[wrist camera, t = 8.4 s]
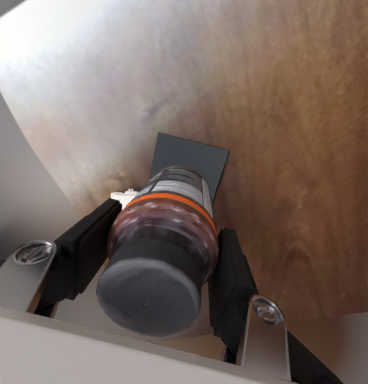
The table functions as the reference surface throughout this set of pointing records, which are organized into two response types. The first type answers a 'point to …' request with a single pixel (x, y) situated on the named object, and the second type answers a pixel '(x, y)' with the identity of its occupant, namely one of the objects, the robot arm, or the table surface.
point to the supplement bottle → (160, 255)
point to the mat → (190, 158)
